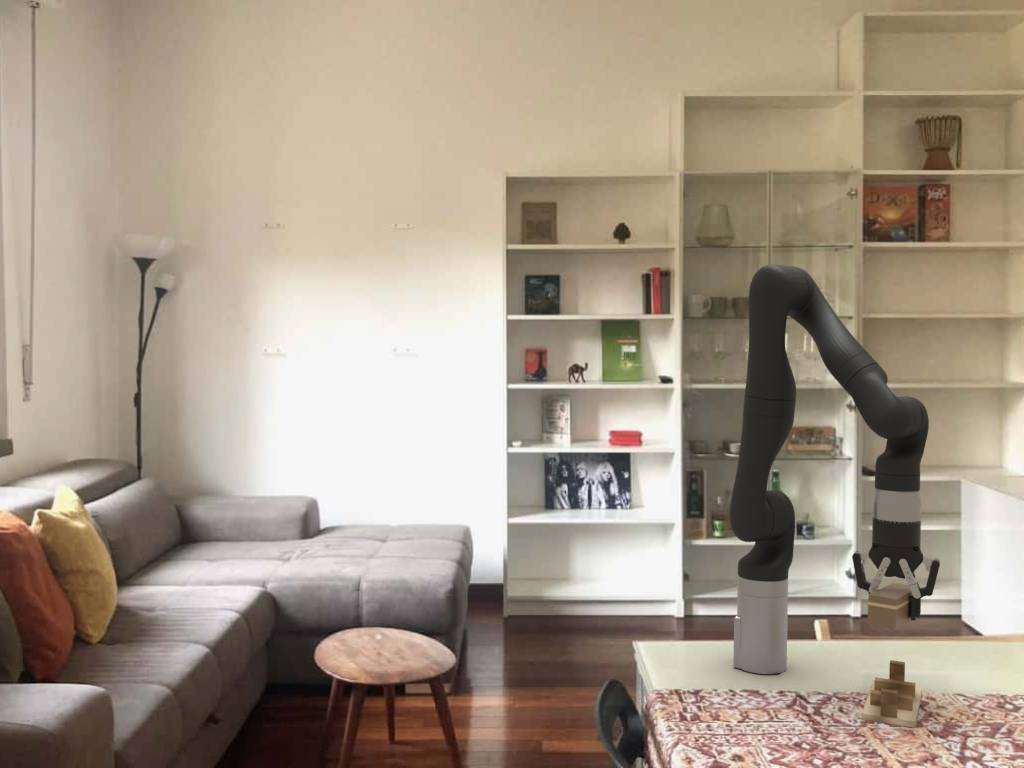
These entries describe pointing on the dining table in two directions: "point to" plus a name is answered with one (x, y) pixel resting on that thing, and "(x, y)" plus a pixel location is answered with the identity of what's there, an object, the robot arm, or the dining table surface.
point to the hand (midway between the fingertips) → (894, 616)
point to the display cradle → (893, 699)
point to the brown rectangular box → (890, 606)
